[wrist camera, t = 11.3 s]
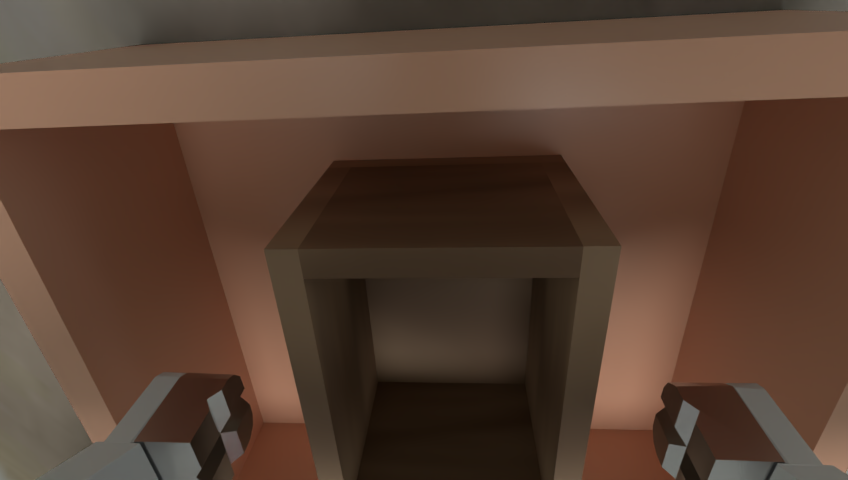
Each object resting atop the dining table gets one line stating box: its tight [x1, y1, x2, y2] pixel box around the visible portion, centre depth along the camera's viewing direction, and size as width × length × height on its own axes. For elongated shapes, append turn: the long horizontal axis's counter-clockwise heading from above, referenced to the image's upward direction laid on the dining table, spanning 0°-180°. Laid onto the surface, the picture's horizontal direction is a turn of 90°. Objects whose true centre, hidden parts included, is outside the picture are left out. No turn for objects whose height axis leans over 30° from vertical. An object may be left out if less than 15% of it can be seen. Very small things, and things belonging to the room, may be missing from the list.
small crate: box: [264, 155, 621, 480], centre depth 12 cm, size 8×6×5 cm
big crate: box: [0, 10, 848, 480], centre depth 12 cm, size 14×16×6 cm
